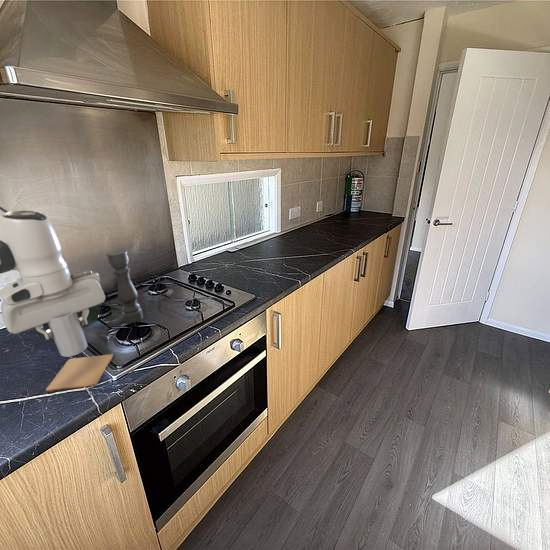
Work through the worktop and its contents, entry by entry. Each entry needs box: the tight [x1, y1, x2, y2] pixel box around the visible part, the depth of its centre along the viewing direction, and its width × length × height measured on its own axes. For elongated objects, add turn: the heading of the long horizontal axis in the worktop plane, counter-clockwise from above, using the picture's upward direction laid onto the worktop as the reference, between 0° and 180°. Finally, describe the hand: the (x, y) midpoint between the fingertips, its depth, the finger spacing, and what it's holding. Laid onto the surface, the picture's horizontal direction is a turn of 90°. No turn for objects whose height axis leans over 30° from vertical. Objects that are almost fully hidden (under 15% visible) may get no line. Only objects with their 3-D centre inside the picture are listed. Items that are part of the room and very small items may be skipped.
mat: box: [45, 353, 114, 392], centre depth 79 cm, size 12×12×1 cm
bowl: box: [77, 304, 102, 329], centre depth 104 cm, size 15×15×6 cm
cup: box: [47, 311, 88, 358], centre depth 74 cm, size 6×6×11 cm
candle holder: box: [106, 249, 144, 325], centre depth 99 cm, size 6×6×25 cm
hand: (67, 331), depth 74 cm, fingers closed on cup, 6 cm apart
